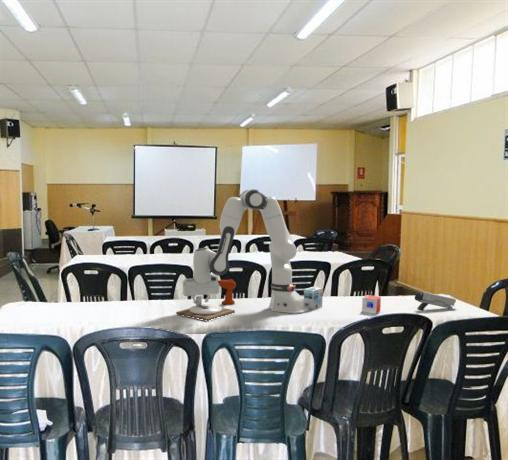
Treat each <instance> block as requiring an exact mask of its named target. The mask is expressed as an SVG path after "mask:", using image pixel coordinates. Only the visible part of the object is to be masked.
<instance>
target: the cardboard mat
mask: <svg viewBox="0 0 508 460" xmlns="http://www.w3.org/2000/svg"><path fill="white" fill-rule="evenodd" d="M202 305H206V304H202ZM221 308H222V311H221V312H219V313H216V314H208V315H201V314H194V313H191V312H190V307H189V308H186V309H183V310H179V311H176V312H175V315H176V314H177V315H176V316H179V315H184V316H190V317H194V318H199V319H203V320H207V321H208V322H210V321H209V320H211V319H214V318H217V317H221V316H224V317H226V316H225V315H227V316H230V315H233V314H235V312H236V311H235V309H232V308H231V309H230V308H225V307H221ZM232 313H233V314H232ZM229 314H230V315H229ZM184 316H183V317H184ZM221 318H222V317H221ZM203 320H202V321H203ZM214 320H215V319H214ZM207 321H206V322H207ZM211 321H212V320H211Z"/></svg>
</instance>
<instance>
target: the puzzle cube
mask: <svg viewBox="0 0 508 460" xmlns="http://www.w3.org/2000/svg"><path fill="white" fill-rule="evenodd" d="M381 298H382V297H381V296H378V295H369V294H367V295H364V296H363V297H362V301H361V302H362V303H361V306H362V307H361V312H364V313H370V314H377V313H379V312H380V311H381V306H382V305H381V301H382V299H381Z"/></svg>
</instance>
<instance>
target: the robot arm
mask: <svg viewBox="0 0 508 460" xmlns="http://www.w3.org/2000/svg"><path fill="white" fill-rule="evenodd" d="M247 210H251V211H252V210H258V211H260V213H261V217H262V219H263V223H264V228H265V230H266V234H267V235H268V237H269V238H270V240H271V241H270V243H269V245H268V249H269V254H270V262H271V285H270V288H271V289H270V291H271V295H270V302H269V306H268V309H270V311H271V312H278V313H279V312H280V313H285V314H287V313H288V314H295V315H297V314H298V315H299V314H303V313H306V312H308V311H310V309H309V308H308V307H305V304H304V297H302V296H301V295H300V294H299V293H298V292H297V291H296V289H295V288H296V284H293V282H292V281H293V268H292V266H291V260H292V259H294V258H295V257H296V255H297V251H298V250H297V247H296V245H295V243H294V241H293V238H292V235H291V233H290V232H289V229H288V228H287V224H286V222H285V221H286V220H285V219H284V215H283V212H282V209H281V206H280V204H279V202H278V200H277V198H276V197H275V196H272V195H271V196H266V195H265V194H264V193H263V192H262V191H261V190H259V189H255V188H250V189H246V190H244V191H243V192H242V193H240V195H239V196H238V197H237V196H231V197H229V198H228V199H227V200H226V202H225V204H224V206H223V209H222V212H221V216H220V220H219V230H220V232H219V233H220V240H219V244H218V247H217V251H216V252H215V251H213V250H212V249H209V248H208V247H200V248H197V249H195V251H194V252H193V259H192V260H193V261H192V262H193V265H192V266H193V271H192V273H193V274H192V276H193V277H192V278H185V279H183V280H182V296H185V297H191V299H192V301H193V304H195V305H196V303H197V300H196V296H205V295H206V296H207V297H206V298H204V303H206V304H208V303H209V299H210V298H211V295H217V294H219V293H220V286H219V283H218V281H219V276H223V275H225V274H226V273H228V271H229V267H230V262H229V255H230V252H231V251H230V250H231V247H232V244H233V241H234V238H235V237H236V234H237V232H238V229H239V227H240V225H241V221H242V218H243V215H244V213H245V211H247ZM210 272H211V273H212V274H211V273H210ZM217 276H218V277H217Z"/></svg>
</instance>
